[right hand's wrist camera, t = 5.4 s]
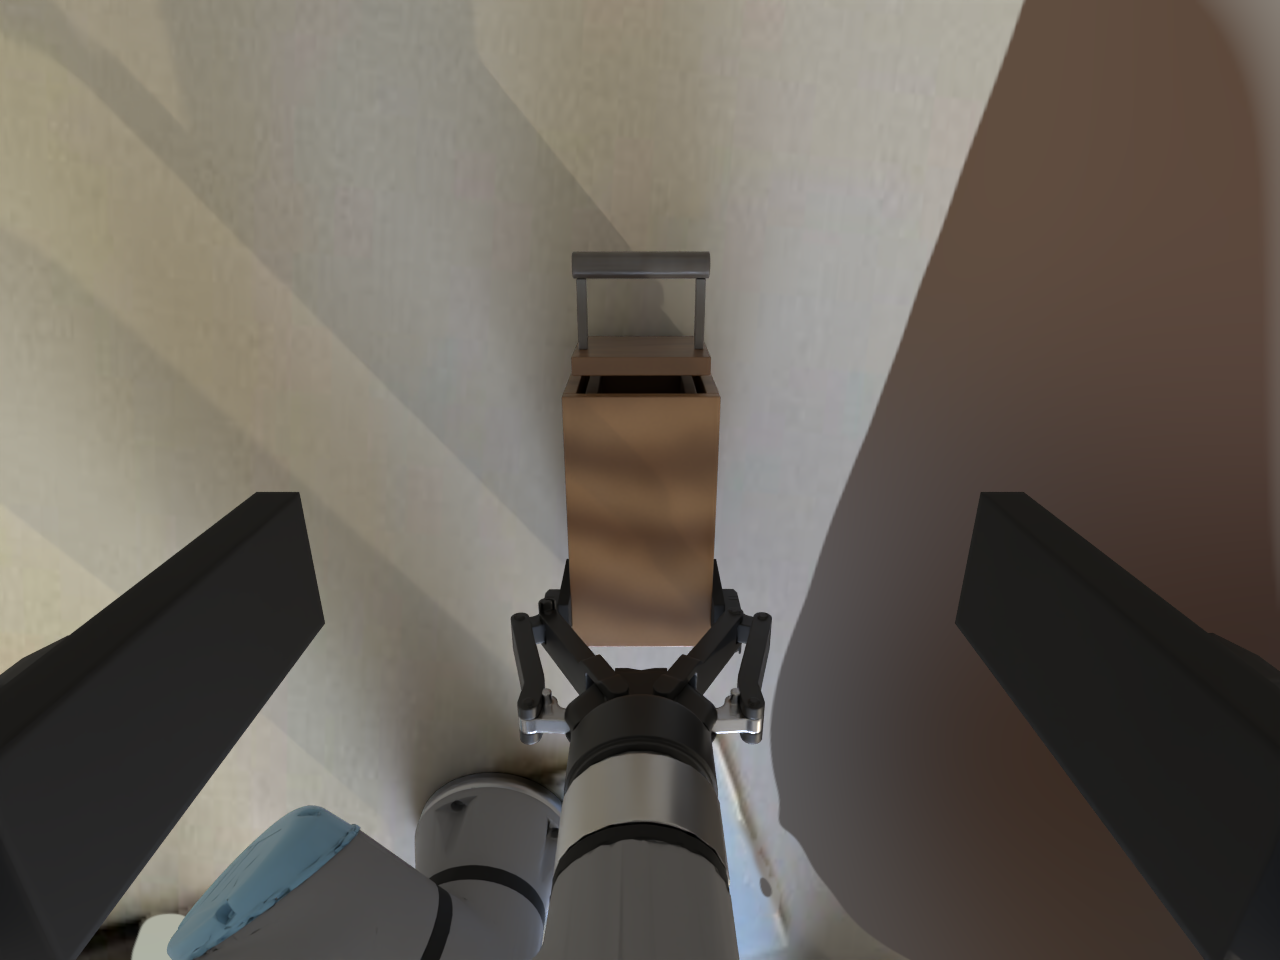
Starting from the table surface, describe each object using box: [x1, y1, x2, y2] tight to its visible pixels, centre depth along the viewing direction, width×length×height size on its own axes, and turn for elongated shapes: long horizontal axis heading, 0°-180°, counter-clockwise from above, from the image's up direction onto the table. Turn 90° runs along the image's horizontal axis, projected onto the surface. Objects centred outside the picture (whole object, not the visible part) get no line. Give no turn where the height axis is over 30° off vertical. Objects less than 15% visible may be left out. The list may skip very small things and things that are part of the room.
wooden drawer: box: [571, 252, 711, 394], centre depth 49 cm, size 24×9×7 cm, turn 0°
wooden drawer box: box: [562, 373, 721, 647], centre depth 52 cm, size 19×10×9 cm, turn 0°
